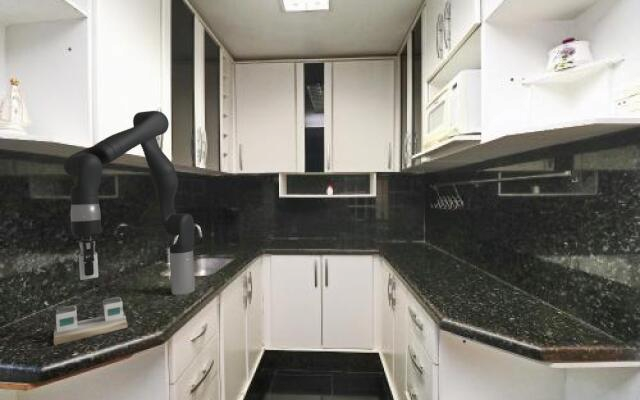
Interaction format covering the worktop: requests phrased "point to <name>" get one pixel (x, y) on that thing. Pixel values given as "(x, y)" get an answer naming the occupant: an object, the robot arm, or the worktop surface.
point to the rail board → (88, 322)
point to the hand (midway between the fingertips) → (88, 273)
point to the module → (82, 268)
